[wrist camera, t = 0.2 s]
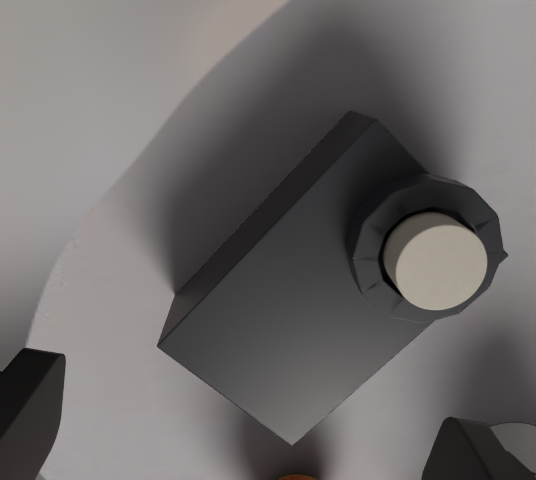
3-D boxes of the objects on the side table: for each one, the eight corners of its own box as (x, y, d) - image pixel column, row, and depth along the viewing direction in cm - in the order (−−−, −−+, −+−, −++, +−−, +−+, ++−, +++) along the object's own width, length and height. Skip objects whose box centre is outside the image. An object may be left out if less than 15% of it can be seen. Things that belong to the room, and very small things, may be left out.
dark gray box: (357, 101, 27) (398, 109, 20) (466, 213, 30) (540, 259, 22) (174, 296, 31) (148, 366, 23) (284, 382, 33) (294, 471, 26)
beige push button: (429, 193, 21) (447, 205, 19) (484, 249, 22) (506, 265, 20) (365, 255, 22) (376, 271, 20) (421, 306, 23) (436, 327, 21)
